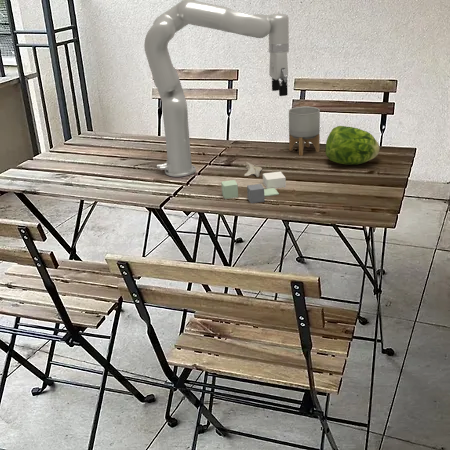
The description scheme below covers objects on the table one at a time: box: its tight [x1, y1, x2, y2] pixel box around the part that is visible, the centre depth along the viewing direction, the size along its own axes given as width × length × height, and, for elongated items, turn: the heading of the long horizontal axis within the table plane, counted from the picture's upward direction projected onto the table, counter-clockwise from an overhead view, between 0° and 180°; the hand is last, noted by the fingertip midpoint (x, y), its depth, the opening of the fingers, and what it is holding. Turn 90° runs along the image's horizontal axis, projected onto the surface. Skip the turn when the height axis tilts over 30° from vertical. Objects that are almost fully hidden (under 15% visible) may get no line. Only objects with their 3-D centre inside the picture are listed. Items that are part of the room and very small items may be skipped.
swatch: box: [264, 188, 280, 198], centre depth 229 cm, size 6×6×1 cm
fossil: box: [243, 161, 263, 178], centre depth 249 cm, size 7×11×3 cm, turn 173°
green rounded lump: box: [325, 125, 381, 166], centre depth 251 cm, size 16×21×15 cm
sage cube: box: [220, 179, 239, 200], centre depth 228 cm, size 5×5×5 cm
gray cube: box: [246, 183, 266, 204], centre depth 223 cm, size 5×5×5 cm
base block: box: [262, 171, 287, 189], centre depth 236 cm, size 7×7×4 cm
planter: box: [288, 106, 321, 156], centre depth 267 cm, size 13×13×18 cm
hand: (279, 93), depth 246 cm, fingers open, 9 cm apart
